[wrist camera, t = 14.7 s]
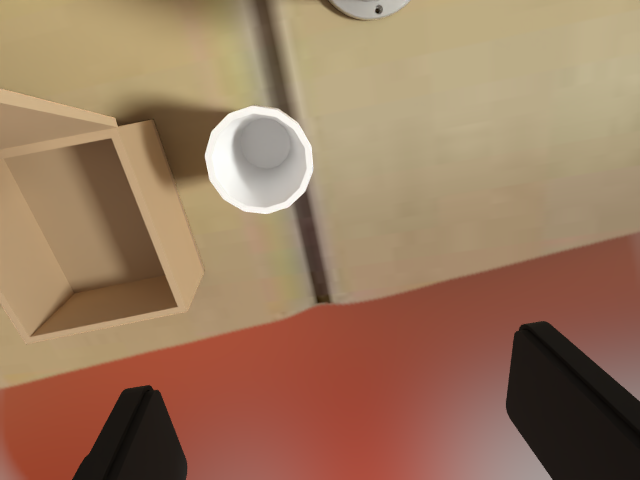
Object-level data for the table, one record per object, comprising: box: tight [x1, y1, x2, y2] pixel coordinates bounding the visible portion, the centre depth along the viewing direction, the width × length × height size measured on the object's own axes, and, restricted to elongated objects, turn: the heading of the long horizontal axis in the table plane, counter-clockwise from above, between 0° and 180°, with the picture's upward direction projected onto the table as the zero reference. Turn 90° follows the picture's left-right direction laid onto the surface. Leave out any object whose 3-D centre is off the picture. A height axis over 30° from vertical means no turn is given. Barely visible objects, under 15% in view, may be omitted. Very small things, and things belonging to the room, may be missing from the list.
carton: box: [0, 119, 205, 344], centre depth 40 cm, size 20×18×10 cm
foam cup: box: [205, 105, 313, 214], centre depth 38 cm, size 10×9×13 cm
